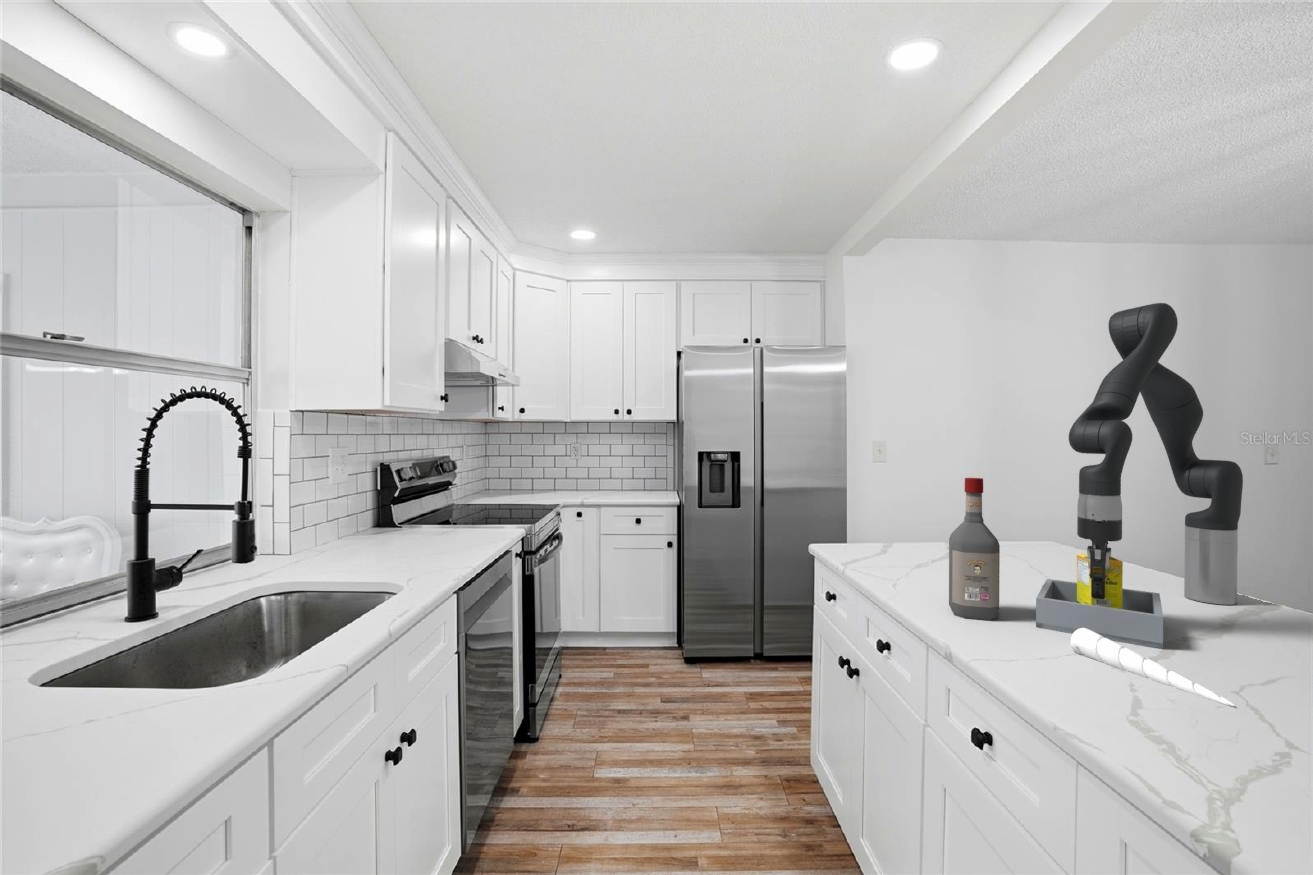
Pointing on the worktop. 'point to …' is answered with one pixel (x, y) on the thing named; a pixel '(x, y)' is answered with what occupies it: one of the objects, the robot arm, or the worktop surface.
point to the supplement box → (1111, 584)
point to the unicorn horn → (1135, 663)
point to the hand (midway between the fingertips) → (1098, 593)
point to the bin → (1102, 614)
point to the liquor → (974, 561)
